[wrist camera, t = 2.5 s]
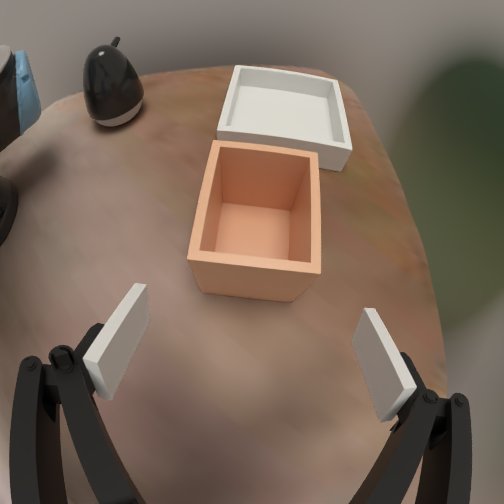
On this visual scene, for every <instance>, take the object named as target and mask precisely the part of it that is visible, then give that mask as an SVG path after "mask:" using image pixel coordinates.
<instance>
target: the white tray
mask: <svg viewBox="0 0 504 504" xmlns="http://www.w3.org/2000/svg"><path fill="white" fill-rule="evenodd" d="M217 140H220V141H232V142H243V143H252V144H261V145H269V146H277V147H284V148H291V149H297V150H304V151H310V152H315V153H318V165H319V168H323V169H329V170H334V171H339V172H341V171H342V169H343V167H344V165H345V163H346V162H347V160H348V158H349V156H350V154H351V152H352V144H351V139H350V134H349V129H348V124H347V119H346V114H345V110H344V105H343V101H342V97H341V93H340V89H339V85H338V81H337V80H333V79H328V78H324V77H319V76H314V75H309V74H303V73H298V72H292V71H285V70H278V69H270V68H262V67H252V66H239V65H236V66H235V69H234V72H233V76H232V79H231V82H230V85H229V89H228V92H227V96H226V99H225V103H224V106H223V110H222V113H221V117H220V120H219V124H218V128H217Z"/></svg>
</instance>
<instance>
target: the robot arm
mask: <svg viewBox="0 0 504 504" xmlns="http://www.w3.org/2000/svg"><path fill="white" fill-rule="evenodd" d="M40 115H41V104H40V100H39V96H38V92H37V89H36V85H35V81H34V78H33V74H32V70H31V67H30V63H29V60H28V57H27V54H26V52H25V51H24V50H21V51H18V52H16V53H15V54H14V55H13V54H12V52H11V50H10V48H9V47H8V46H7V45H0V152H1V151H2V150H4V149H5V148H6V147H7V146H8V145H9V144H11V143H12V142H13V141H14V140H15V139H17V138H18V137H19V136H22V135H23V133H24V132H25V131H26V130H27V129H28V128H29V127H31V126H32V125H33V124H34V123H35V122H36V121H37V120H38V119H39V117H40ZM17 205H18V194H17V190H16V188H15V187H14V186H13V185H12V184H11V182H10V181H9V180H7V179H6V178H3V177H1V176H0V245H1V244H2V242H3V241H4V239H5V238H6V236H7V234H8V232H9V230H10V228H11V226H12V223H13V220H14V218H15V214H16V210H17ZM149 323H150V314H149V304H148V294H147V285H146V284H139V283H135V284H134V285H133V286H132V288H131V289H130V290H129V292H128V293H127V295H126V296H125V297H124V299H123V300H122V301H121V303H120V304H119V306H118V307H117V308H116V310H115V311H114V313H113V314H112V315H111V317H110V318H109V320H108V321H107V323H106V324H105V325H104V324H100V323H97V324H95V325H94V326H92V327H91V328H90V329H89V330H88V332H87V333H86V335H85V336H84V337H83V339H82V340H81V342H80V343H79V344H78V346H77V347H76V349H75V350H74V351H73V349H72V348H71V347H69V346H66V345H59V346H57V347H55V348H53V349H52V350H51V351H50V353H49V360H50V362H51V365H47V364H42V362H41V360H40V359H39V358H38V357H36V356H29V357H27V358H25V359H24V360H23V361H22V362H21V364H20V367H19V372H18V377H17V383H16V388H15V395H14V401H13V409H12V418H11V430H10V452H9V467H10V488H11V499H12V504H68V502H67V496H66V490H65V484H64V477H63V468H62V459H61V445H60V404H62V407H63V411H64V414H65V418H66V421H67V425H68V428H69V431H70V434H71V437H72V440H73V443H74V446H75V449H76V452H77V454H78V457H79V460H80V462H81V465H82V467H83V469H84V472H85V474H86V476H87V479H88V481H89V483H90V485H91V488H92V490H93V492H94V494H95V496H96V498H97V500H98V502H99V504H146V503H145V501H144V500H143V498H142V496H141V495H140V493H139V492H138V490H137V488H136V487H135V485H134V483H133V482H132V480H131V478H130V476H129V474H128V473H127V471H126V469H125V467H124V465H123V463H122V461H121V460H120V458H119V456H118V454H117V452H116V450H115V447H114V445H113V443H112V441H111V439H110V437H109V435H108V432H107V430H106V428H105V425H104V423H103V421H102V418H101V416H100V413H99V411H98V408H97V405H96V403H95V400H94V398H93V396H92V395H93V393H94V391H95V390H96V392H97V394H98V396H99V397H102V398H105V399H108V400H111V401H112V399H113V397H114V395H115V393H116V390H117V388H118V386H119V384H120V382H121V380H122V378H123V375H124V373H125V371H126V369H127V367H128V365H129V363H130V361H131V359H132V357H133V355H134V353H135V351H136V349H137V347H138V345H139V343H140V341H141V339H142V337H143V335H144V333H145V331H146V329H147V327H148V325H149ZM351 343H352V346H353V349H354V351H355V354H356V357H357V359H358V362H359V365H360V367H361V370H362V373H363V376H364V378H365V381H366V384H367V387H368V390H369V393H370V396H371V399H372V401H373V404H374V407H375V410H376V413H377V417H378V420H379V422H385V421H392V419H393V418H394V417H395V416H396V414H397V415H398V418H399V420H398V421H397V422H396V423H395V424H394V426H393V427H392V428H391V429H390V431H392V432H391V434H390V436H389V438H388V440H387V442H386V444H385V446H384V448H383V450H382V451H381V453H380V455H379V457H378V459H377V460H376V462H375V464H374V466H373V467H372V469H371V471H370V472H369V474H368V475H367V477H366V479H365V480H364V482H363V483H362V485H361V486H360V488H359V489H358V491H357V492H356V494H355V495H354V497H353V498H352V500H351V501H350V502H349V504H401V502H402V500H403V498H404V496H405V494H406V492H407V490H408V488H409V486H410V484H411V482H412V479H413V477H414V475H415V473H416V470H417V468H418V466H419V463H420V461H421V458H422V456H423V462H422V469H421V475H420V481H419V486H418V492H417V496H416V501H415V504H469V501H470V491H471V476H472V436H471V435H472V434H471V419H470V408H469V402H468V399H467V398H466V397H465V396H464V395H463V394H460V393H455V394H453V395H452V396H451V398H450V399H445V398H439V396H438V395H437V394H436V392H434V391H433V390H430V389H426V387H425V385H424V383H423V381H422V379H421V377H420V375H419V373H418V372H417V371H416V368H415V366H414V364H413V362H412V360H411V359H410V357H409V356H408V355H407V354H405V353H404V352H399V351H398V349H397V347H396V345H395V344H394V342H393V340H392V338H391V336H390V334H389V333H388V331H387V329H386V327H385V326H384V324H383V322H382V320H381V319H380V317H379V315H378V313H377V312H376V310H375V308H364V309H363V312H362V315H361V317H360V320H359V322H358V325H357V327H356V330H355V332H354V335H353V337H352V340H351ZM423 453H424V454H423Z"/></svg>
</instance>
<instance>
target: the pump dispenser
mask: <svg viewBox="0 0 504 504" xmlns="http://www.w3.org/2000/svg"><path fill="white" fill-rule="evenodd" d="M119 41H120V37H115V38H114V40H113V41H112V42H111V44H110V45H107V44H105V45H100V46H98V47H96V48H94V49H93V50H92V51H91V52H90V53H89V54H88V56H87V58H86V61H85V64H84V69H83V93H84V99H85V103H86V107H87V111H88V113H89V115H90V117H91V118H93V119H95V120H96V121H97V122H98V123H99V124H101V125H104V126H117V125H121V124H123V123H125V122H127V121H129V120H130V119H132V118H133V117H134V116H135V115H136V114H137V112H138V111H139V109H140V107H141V104H142V99H143V95H144V90H143V86H142V83H141V81H140V79H139V77H138V74H137V73H136V71H135V69H134V67H133V66H132V64H131V63H130V61H129V60H128V59H127V57H126V56H125V55H124V54H123V53H122V52H121V51H120V50H119V49H117V45H118V43H119Z"/></svg>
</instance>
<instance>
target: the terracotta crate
mask: <svg viewBox="0 0 504 504" xmlns="http://www.w3.org/2000/svg"><path fill="white" fill-rule="evenodd" d="M187 260H188V263H189V265H190V267H191V269H192V272H193V274H194V276H195V278H196V280H197V282H198V285H199V287H200V289H201V291H202V293H208V294H216V295H224V296H233V297H242V298H251V299H261V300H271V301H281V302H293V301H294V300H295V299H296V298H297V297H298V296H299V295H300V294H301V293H302V292H303V291H304V290H305V289H306V288H307V287H308V286H309V285H310V284H311V283H312V282H313V281H314V280H315V279H316V278H317V277H318V276H319V275H320V274H321V214H320V185H319V165H318V153H315V152H310V151H304V150H297V149H291V148H284V147H277V146H269V145H261V144H252V143H243V142H232V141H220V140H213V143H212V147H211V151H210V155H209V159H208V163H207V167H206V171H205V175H204V179H203V184H202V188H201V192H200V197H199V201H198V206H197V211H196V215H195V220H194V225H193V230H192V235H191V240H190V245H189V251H188V256H187Z"/></svg>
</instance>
